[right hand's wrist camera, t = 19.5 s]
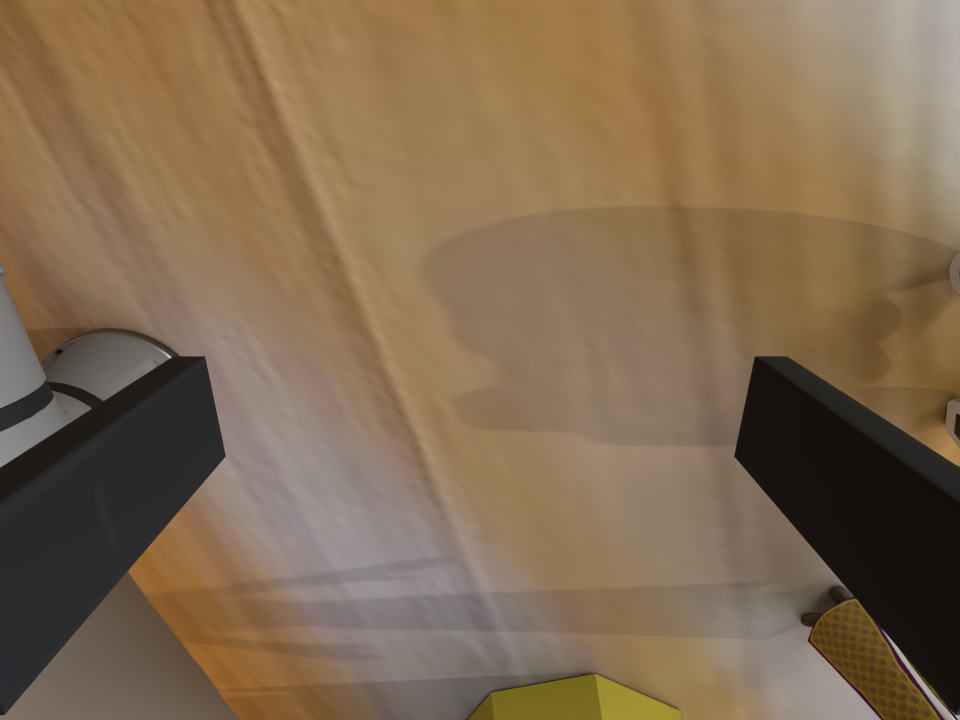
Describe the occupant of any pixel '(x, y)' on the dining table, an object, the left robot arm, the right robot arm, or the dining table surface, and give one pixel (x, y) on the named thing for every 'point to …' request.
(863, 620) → the figurine
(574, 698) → the crown
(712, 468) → the dining table surface
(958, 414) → the cutout
